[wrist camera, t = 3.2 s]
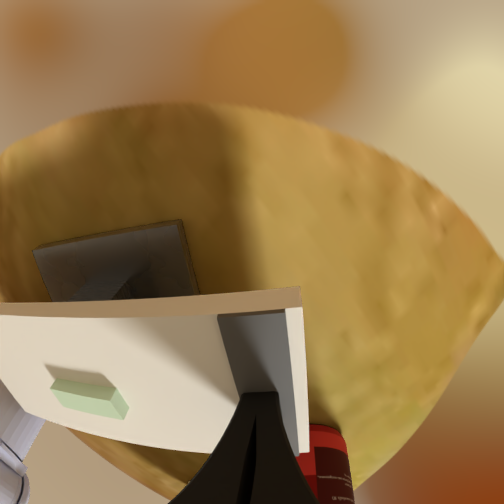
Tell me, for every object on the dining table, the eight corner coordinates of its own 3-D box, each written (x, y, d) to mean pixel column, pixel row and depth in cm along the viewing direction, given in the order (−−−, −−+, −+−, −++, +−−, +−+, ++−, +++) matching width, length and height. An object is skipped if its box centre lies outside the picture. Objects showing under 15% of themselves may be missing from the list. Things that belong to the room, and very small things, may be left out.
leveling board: (35, 396, 16) (20, 418, 14) (-24, 297, 13) (-47, 318, 10) (308, 424, 14) (309, 465, 11) (298, 277, 10) (304, 323, 8)
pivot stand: (106, 386, 20) (88, 421, 16) (39, 245, 15) (1, 272, 11) (229, 392, 18) (222, 437, 15) (181, 219, 14) (152, 250, 10)
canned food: (246, 458, 23) (235, 560, 12) (268, 415, 19) (262, 553, 9) (322, 465, 23) (328, 560, 13) (360, 424, 20) (381, 543, 10)
